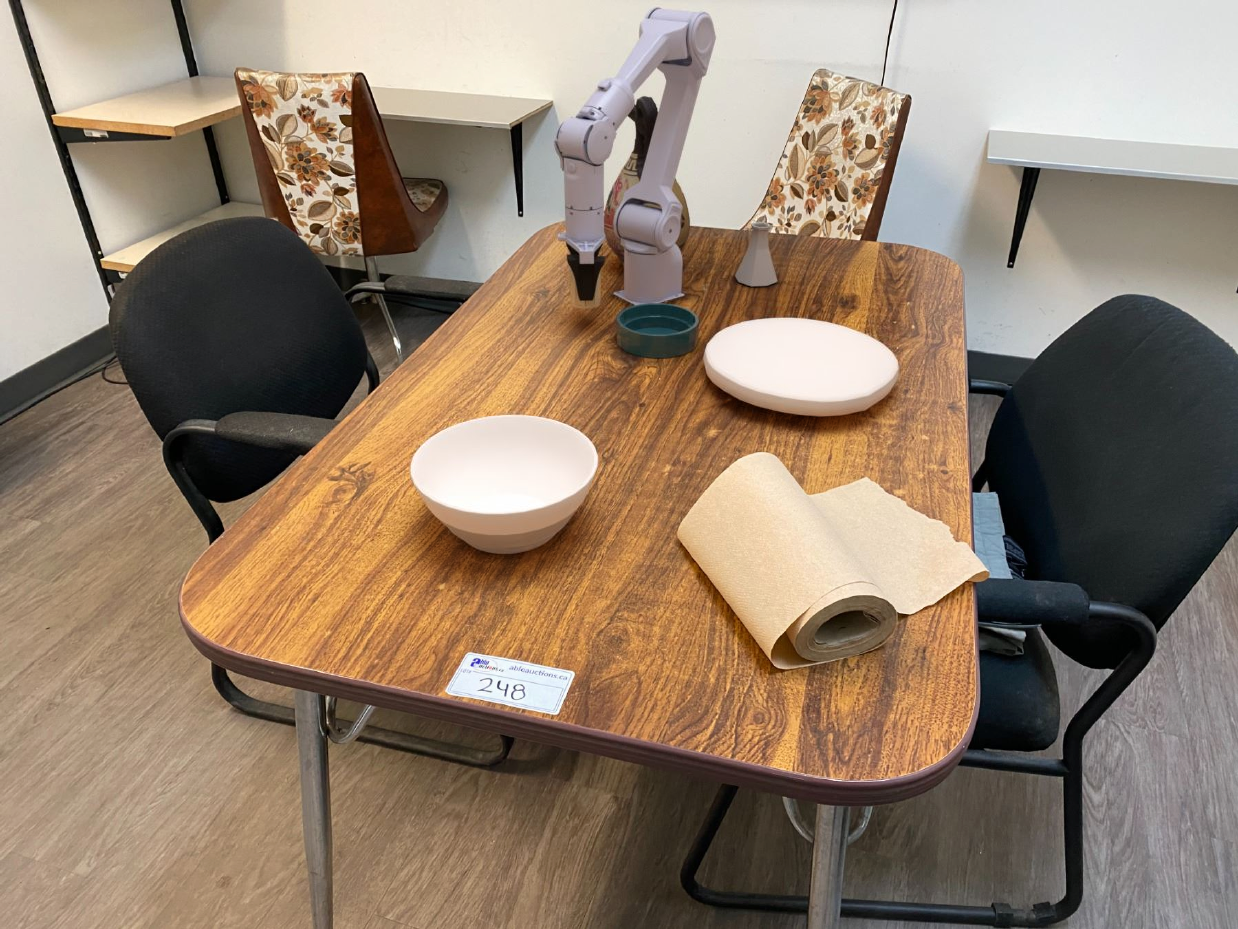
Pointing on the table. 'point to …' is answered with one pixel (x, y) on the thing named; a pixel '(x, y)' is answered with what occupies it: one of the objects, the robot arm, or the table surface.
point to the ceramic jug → (639, 176)
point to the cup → (575, 299)
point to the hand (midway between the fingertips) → (585, 293)
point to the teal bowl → (657, 330)
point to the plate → (801, 366)
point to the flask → (757, 259)
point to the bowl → (505, 479)
